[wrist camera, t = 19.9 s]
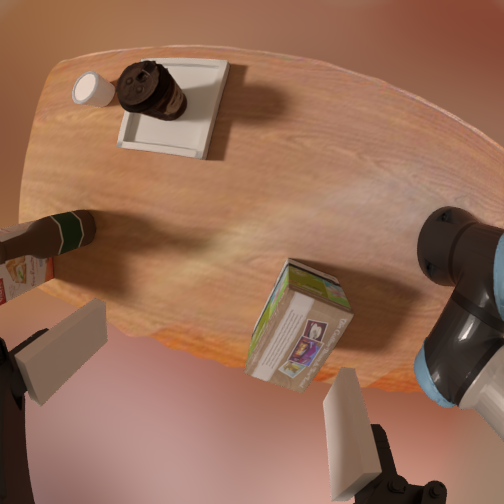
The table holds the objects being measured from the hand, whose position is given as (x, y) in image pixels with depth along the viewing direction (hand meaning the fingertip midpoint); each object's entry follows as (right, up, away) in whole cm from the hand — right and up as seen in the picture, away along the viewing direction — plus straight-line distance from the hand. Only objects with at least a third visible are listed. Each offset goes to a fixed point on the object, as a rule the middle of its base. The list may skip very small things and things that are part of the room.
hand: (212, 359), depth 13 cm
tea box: (+10, -4, +35) cm, 37 cm away
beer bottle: (-33, +11, +36) cm, 50 cm away
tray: (-12, +31, +29) cm, 44 cm away
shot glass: (-28, +37, +29) cm, 55 cm away
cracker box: (-48, +6, +39) cm, 62 cm away
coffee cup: (-12, +31, +28) cm, 44 cm away
